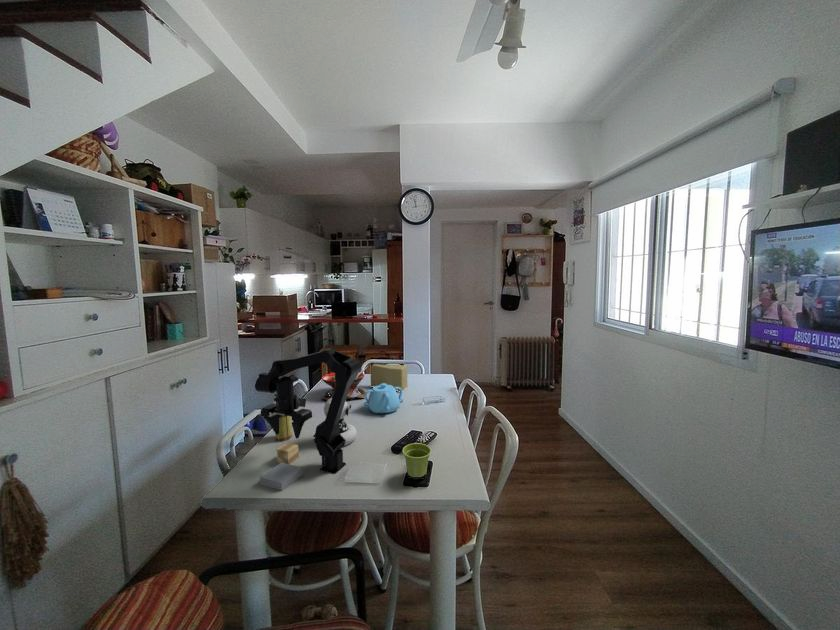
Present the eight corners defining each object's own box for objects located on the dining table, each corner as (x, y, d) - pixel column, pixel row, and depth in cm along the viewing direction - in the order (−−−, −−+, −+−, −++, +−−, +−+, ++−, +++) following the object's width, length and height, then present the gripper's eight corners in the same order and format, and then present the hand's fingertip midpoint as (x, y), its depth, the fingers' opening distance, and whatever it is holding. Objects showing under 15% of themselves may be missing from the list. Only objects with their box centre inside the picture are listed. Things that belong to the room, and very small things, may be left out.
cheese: (367, 390, 195) (367, 366, 193) (374, 385, 204) (373, 362, 203) (402, 394, 188) (402, 368, 187) (408, 388, 198) (407, 364, 196)
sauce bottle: (287, 433, 139) (284, 388, 137) (295, 438, 135) (292, 391, 133) (272, 439, 133) (269, 392, 132) (279, 444, 130) (277, 395, 128)
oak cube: (298, 458, 119) (298, 445, 119) (288, 465, 114) (287, 451, 114) (288, 455, 121) (287, 442, 121) (277, 462, 116) (276, 449, 116)
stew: (366, 387, 201) (365, 361, 200) (375, 399, 179) (374, 371, 177) (318, 393, 191) (317, 366, 190) (322, 407, 169) (321, 376, 167)
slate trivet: (302, 474, 108) (302, 467, 108) (282, 490, 100) (281, 483, 100) (281, 469, 112) (281, 462, 111) (260, 484, 103) (259, 476, 103)
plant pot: (430, 466, 112) (430, 442, 112) (432, 483, 103) (432, 457, 102) (403, 467, 112) (402, 443, 111) (402, 484, 103) (402, 457, 102)
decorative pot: (382, 402, 175) (381, 377, 174) (406, 408, 166) (406, 382, 165) (360, 412, 162) (360, 385, 161) (385, 419, 153) (385, 391, 152)
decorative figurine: (348, 450, 124) (347, 399, 122) (312, 448, 126) (310, 397, 124) (361, 433, 138) (360, 387, 137) (329, 431, 141) (327, 386, 139)
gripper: (321, 389, 119) (323, 430, 121) (282, 384, 126) (284, 423, 128) (299, 399, 109) (301, 444, 111) (258, 393, 116) (260, 435, 118)
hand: (287, 436), depth 117 cm, fingers open, 9 cm apart
